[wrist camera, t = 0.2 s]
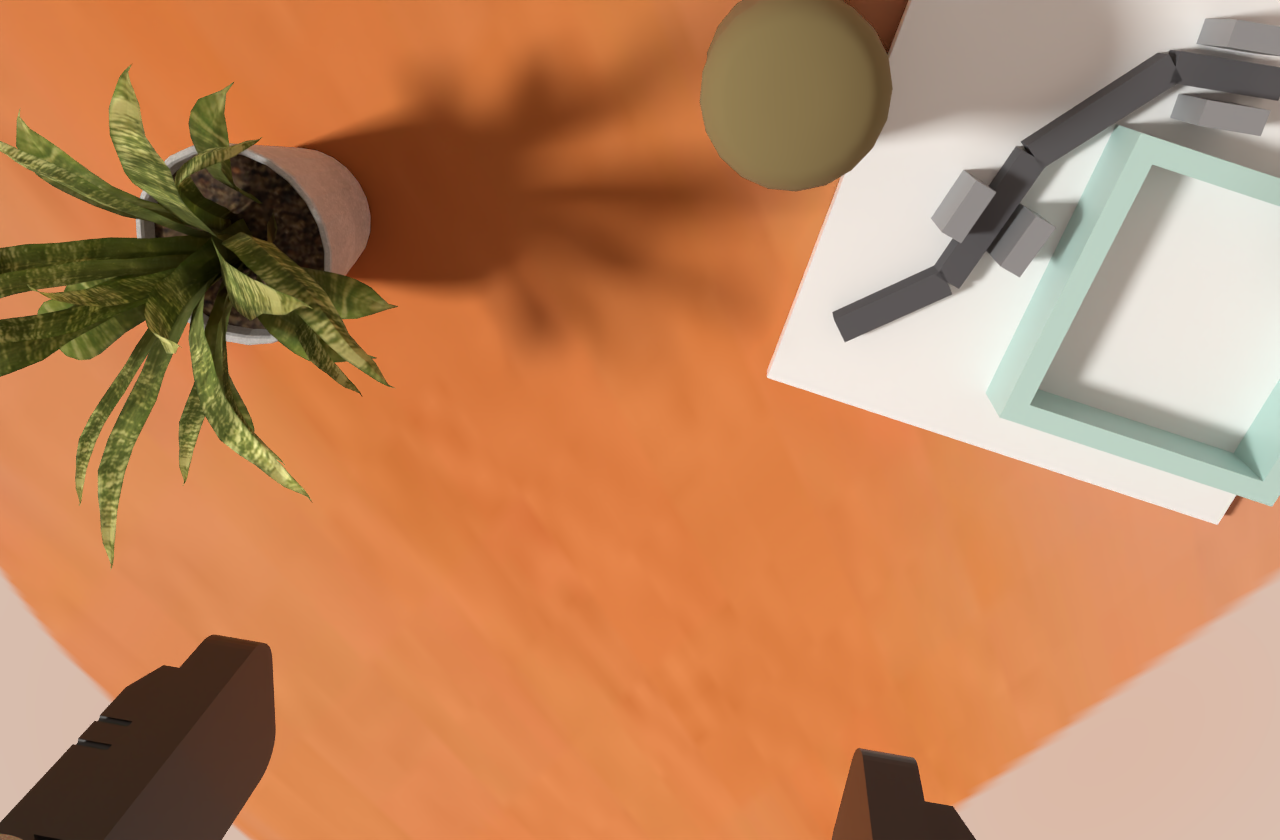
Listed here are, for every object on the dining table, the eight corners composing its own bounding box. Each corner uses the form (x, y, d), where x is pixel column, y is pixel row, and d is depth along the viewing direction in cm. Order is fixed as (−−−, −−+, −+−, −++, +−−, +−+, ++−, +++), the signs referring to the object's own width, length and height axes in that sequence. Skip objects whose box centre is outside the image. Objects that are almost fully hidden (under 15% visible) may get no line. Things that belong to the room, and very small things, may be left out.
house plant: (264, 450, 44) (8, 676, 29) (61, 174, 40) (-354, 274, 25) (527, 306, 40) (387, 485, 25) (330, -16, 36) (24, -29, 21)
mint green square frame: (1116, 124, 34) (1141, 132, 32) (1404, 219, 34) (1449, 234, 32) (985, 393, 39) (999, 417, 36) (1242, 476, 39) (1272, 506, 36)
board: (950, -111, 33) (968, -122, 30) (1489, 68, 33) (1559, 74, 30) (767, 370, 40) (766, 399, 37) (1209, 515, 40) (1244, 555, 37)
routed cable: (1243, -2, 32) (1257, -3, 31) (1285, 85, 33) (1300, 88, 32) (804, 276, 38) (805, 283, 37) (850, 346, 38) (852, 354, 38)
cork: (907, 84, 35) (963, 115, 25) (772, 192, 37) (774, 261, 27) (805, -58, 34) (821, -85, 24) (670, 62, 36) (633, 84, 26)
